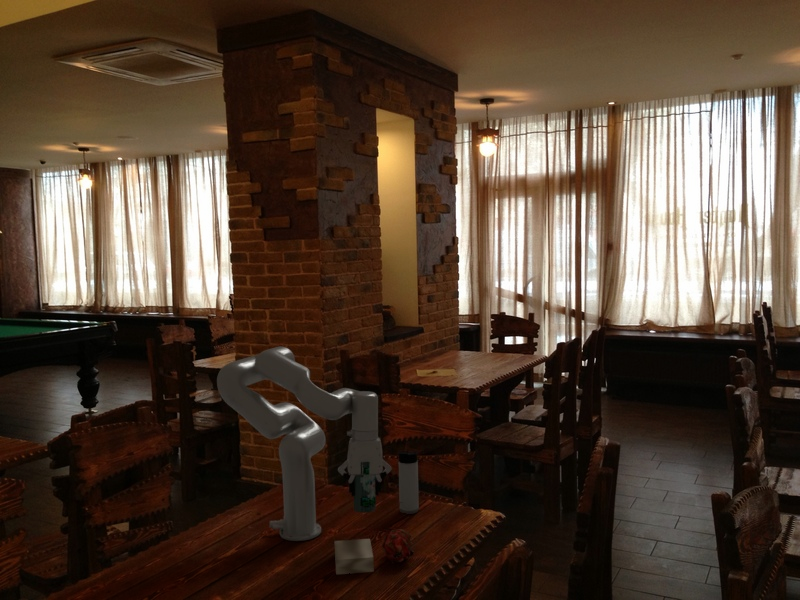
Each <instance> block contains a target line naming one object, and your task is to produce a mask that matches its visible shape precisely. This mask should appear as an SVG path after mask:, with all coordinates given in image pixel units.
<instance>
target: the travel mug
mask: <svg viewBox="0 0 800 600" xmlns="http://www.w3.org/2000/svg"><path fill="white" fill-rule="evenodd" d="M418 462H419V461H418V452H417V451H409V450H401V451H398V493H399V494H398V496H399V499H398V500H399V501H398V502H399V512H400V513H402V514H404V513H406V515H411V514H416V513H418V512H419V507H420V506H419V465H418V464H419V463H418Z"/></svg>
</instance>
